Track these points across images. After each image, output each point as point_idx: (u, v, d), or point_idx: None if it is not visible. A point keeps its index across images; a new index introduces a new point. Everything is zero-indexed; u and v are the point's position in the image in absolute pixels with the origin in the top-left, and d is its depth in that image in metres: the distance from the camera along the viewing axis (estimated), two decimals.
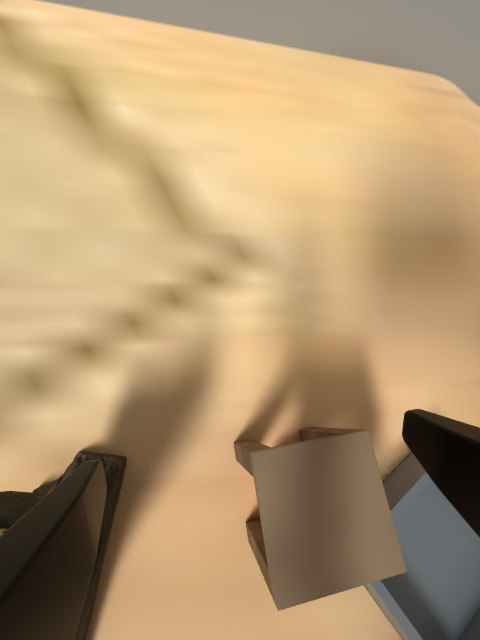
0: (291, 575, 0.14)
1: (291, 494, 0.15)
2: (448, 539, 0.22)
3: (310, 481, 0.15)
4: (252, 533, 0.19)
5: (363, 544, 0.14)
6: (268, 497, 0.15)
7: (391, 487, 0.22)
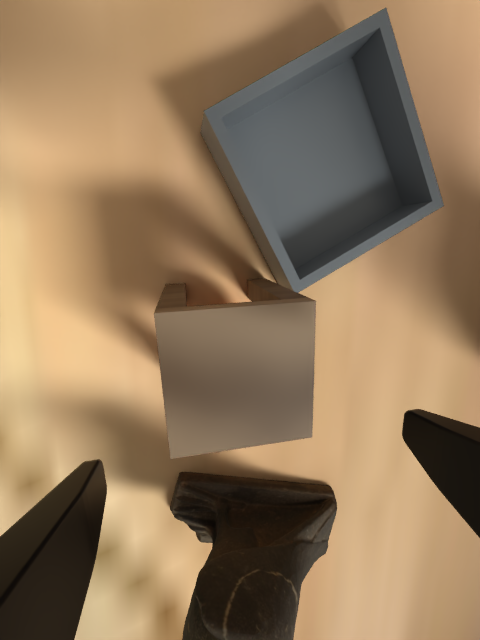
0: (289, 424, 0.14)
1: (218, 419, 0.13)
2: (310, 141, 0.18)
3: (208, 397, 0.12)
4: None
5: (280, 346, 0.12)
6: (217, 442, 0.13)
7: (244, 207, 0.17)
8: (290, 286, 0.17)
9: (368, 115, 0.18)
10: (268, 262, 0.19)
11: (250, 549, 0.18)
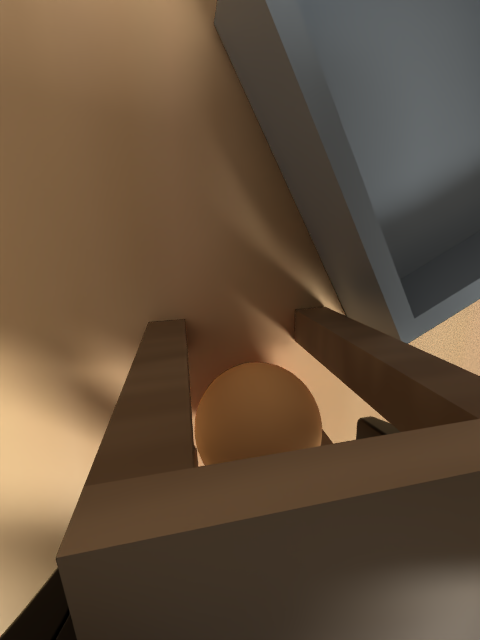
0: None
1: None
2: (425, 48, 0.09)
3: None
4: None
5: None
6: None
7: (301, 175, 0.09)
8: (393, 330, 0.09)
9: None
10: (335, 279, 0.11)
11: None
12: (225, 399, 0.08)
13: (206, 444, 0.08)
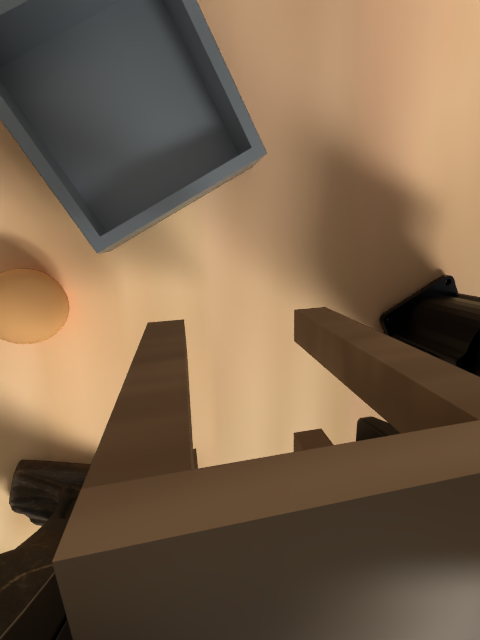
0: None
1: None
2: (117, 81, 0.16)
3: None
4: None
5: None
6: None
7: None
8: None
9: (184, 53, 0.16)
10: None
11: None
12: None
13: None
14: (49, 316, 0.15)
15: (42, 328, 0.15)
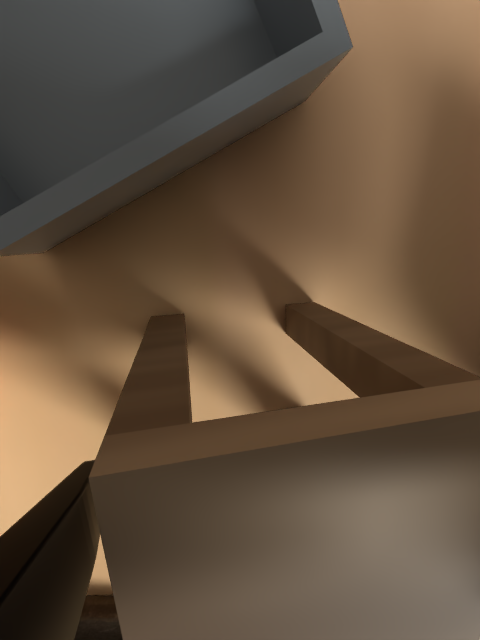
0: None
1: None
2: None
3: None
4: None
5: (434, 515, 0.05)
6: None
7: None
8: None
9: None
10: None
11: None
12: None
13: None
14: None
15: None
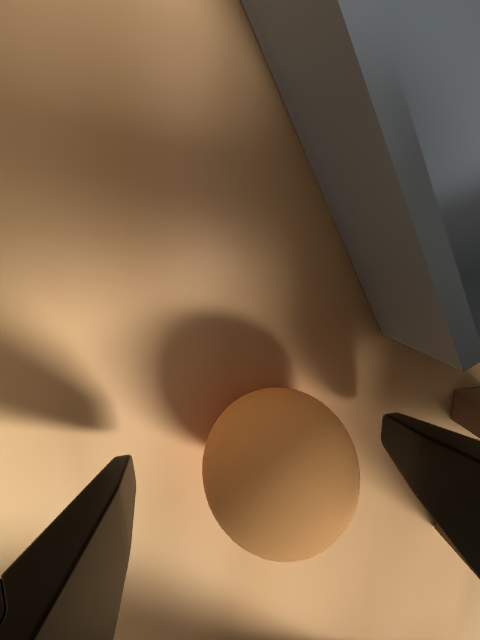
0: None
1: None
2: None
3: None
4: None
5: None
6: None
7: (335, 159, 0.07)
8: (450, 352, 0.07)
9: None
10: (370, 287, 0.09)
11: None
12: (241, 440, 0.07)
13: (218, 496, 0.07)
14: (355, 505, 0.07)
15: None
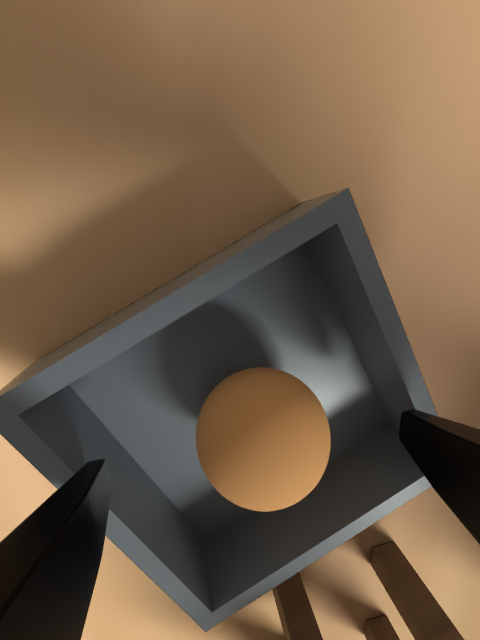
0: None
1: None
2: (233, 358, 0.11)
3: None
4: None
5: None
6: None
7: None
8: None
9: (331, 309, 0.11)
10: None
11: None
12: (228, 407, 0.08)
13: (208, 455, 0.08)
14: (326, 464, 0.08)
15: (314, 487, 0.08)
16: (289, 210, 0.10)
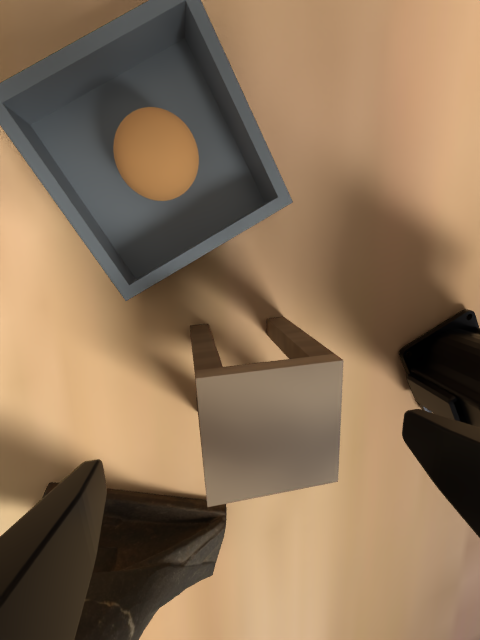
0: (317, 470, 0.14)
1: (252, 469, 0.14)
2: None
3: (243, 450, 0.13)
4: None
5: (310, 402, 0.13)
6: (251, 490, 0.14)
7: None
8: None
9: (212, 102, 0.16)
10: None
11: (92, 574, 0.16)
12: None
13: (116, 143, 0.13)
14: (190, 159, 0.14)
15: (183, 172, 0.14)
16: None
